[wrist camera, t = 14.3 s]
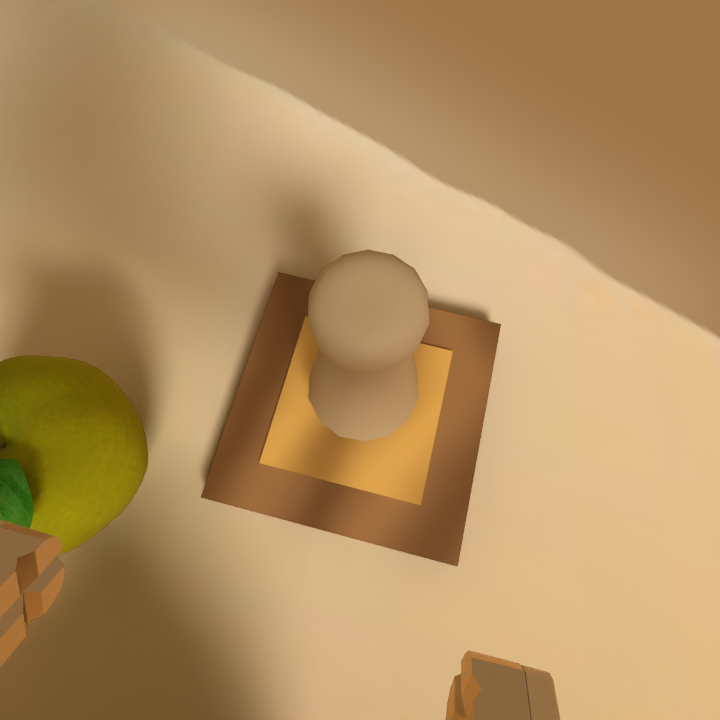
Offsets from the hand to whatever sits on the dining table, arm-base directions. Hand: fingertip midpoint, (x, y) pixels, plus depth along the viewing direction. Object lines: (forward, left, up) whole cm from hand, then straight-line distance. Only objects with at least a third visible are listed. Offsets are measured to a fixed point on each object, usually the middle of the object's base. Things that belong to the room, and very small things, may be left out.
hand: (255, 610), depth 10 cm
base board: (0, +9, -19) cm, 21 cm away
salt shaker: (0, +9, -18) cm, 20 cm away
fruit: (-14, +2, -19) cm, 24 cm away
